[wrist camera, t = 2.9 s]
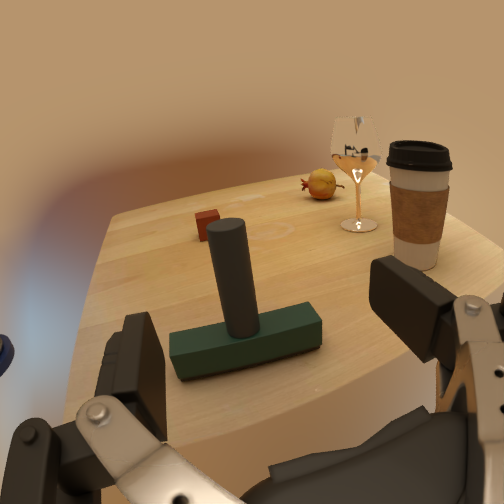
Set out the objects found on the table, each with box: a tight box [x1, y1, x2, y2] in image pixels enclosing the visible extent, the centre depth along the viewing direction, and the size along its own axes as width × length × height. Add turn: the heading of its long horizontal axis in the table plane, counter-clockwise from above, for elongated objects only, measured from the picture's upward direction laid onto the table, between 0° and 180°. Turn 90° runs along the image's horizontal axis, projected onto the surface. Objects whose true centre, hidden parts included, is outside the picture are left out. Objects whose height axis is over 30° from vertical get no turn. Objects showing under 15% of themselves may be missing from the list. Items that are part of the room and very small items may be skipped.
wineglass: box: [331, 117, 382, 232], centre depth 46 cm, size 8×8×18 cm
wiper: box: [169, 218, 322, 381], centre depth 23 cm, size 12×3×12 cm, turn 103°
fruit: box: [301, 169, 344, 199], centre depth 66 cm, size 7×7×10 cm
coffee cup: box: [386, 140, 453, 271], centre depth 33 cm, size 8×8×15 cm
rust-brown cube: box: [195, 209, 220, 241], centre depth 53 cm, size 4×4×4 cm
